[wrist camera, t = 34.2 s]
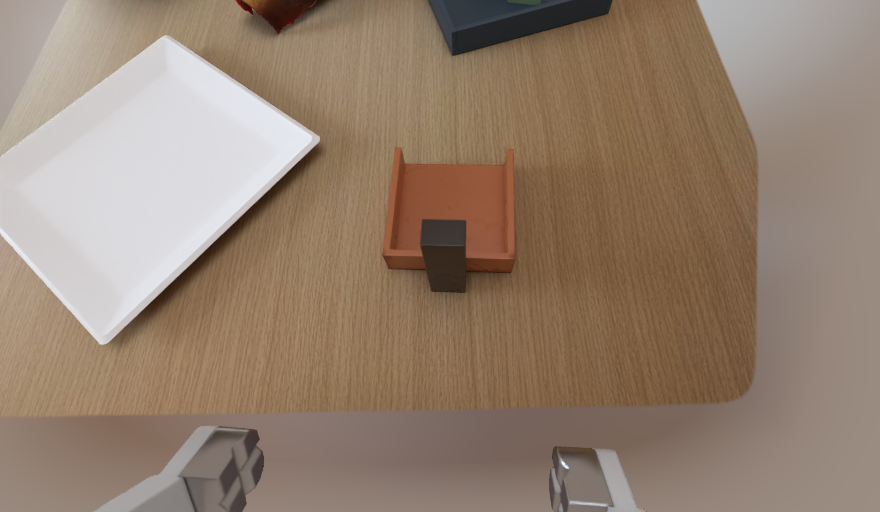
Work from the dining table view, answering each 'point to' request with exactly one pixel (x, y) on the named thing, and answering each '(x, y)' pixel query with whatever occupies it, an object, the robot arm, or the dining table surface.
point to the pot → (277, 10)
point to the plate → (141, 181)
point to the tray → (506, 19)
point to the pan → (450, 220)
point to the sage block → (526, 2)
